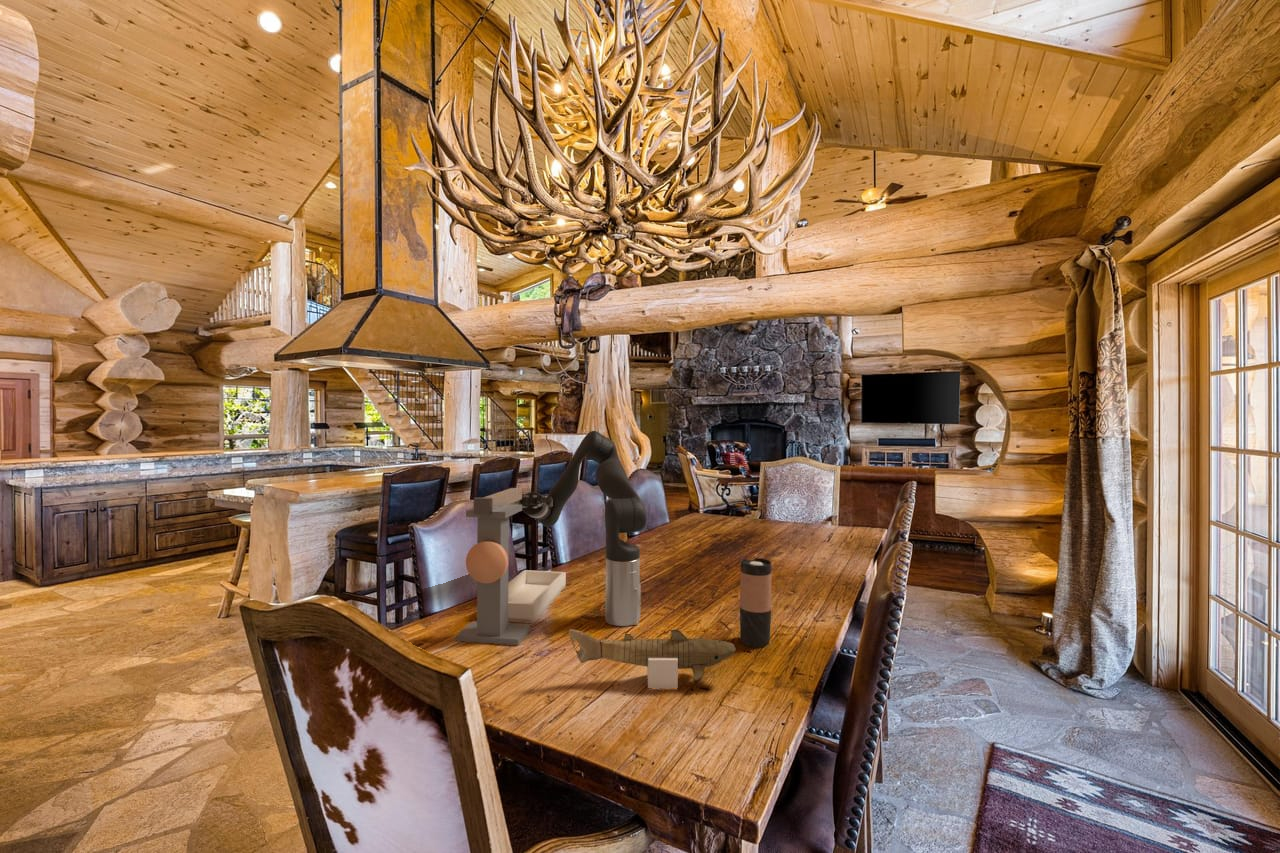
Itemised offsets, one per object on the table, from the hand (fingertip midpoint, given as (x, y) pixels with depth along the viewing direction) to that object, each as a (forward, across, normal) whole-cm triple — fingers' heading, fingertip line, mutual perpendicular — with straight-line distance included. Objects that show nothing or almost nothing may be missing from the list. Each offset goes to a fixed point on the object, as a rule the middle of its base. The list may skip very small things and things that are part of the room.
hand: (523, 497), depth 156 cm
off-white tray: (-10, +2, +30) cm, 32 cm away
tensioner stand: (+13, 0, +38) cm, 40 cm away
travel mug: (+14, +65, +37) cm, 76 cm away
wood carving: (+34, +39, +44) cm, 68 cm away
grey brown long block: (+20, -1, +6) cm, 21 cm away
